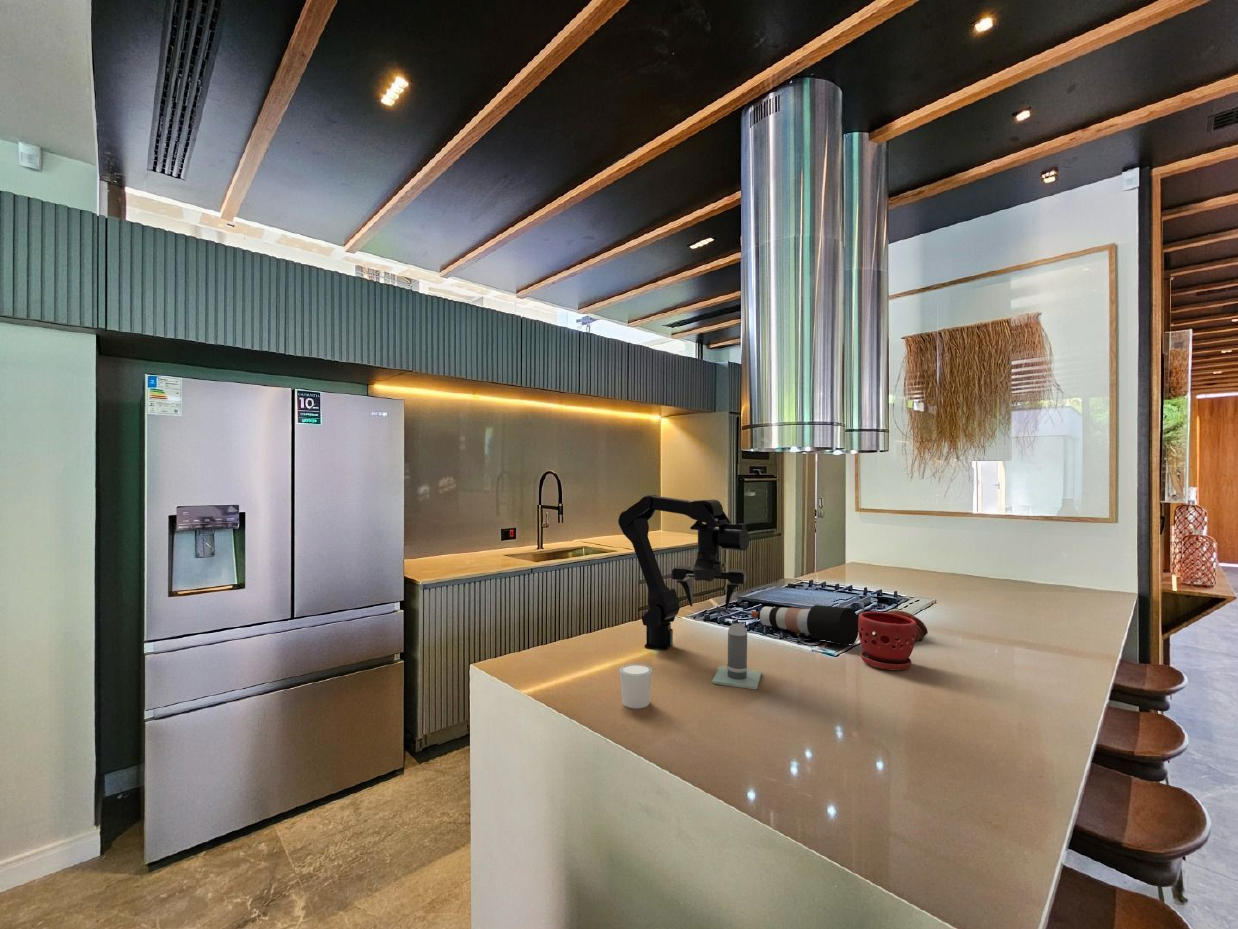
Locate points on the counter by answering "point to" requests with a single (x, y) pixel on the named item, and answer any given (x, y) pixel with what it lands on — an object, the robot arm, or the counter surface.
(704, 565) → the robot arm
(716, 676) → the coaster
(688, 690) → the counter surface
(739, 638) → the cylinder
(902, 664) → the plant pot
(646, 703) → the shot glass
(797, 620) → the striped bottle
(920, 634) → the pastry
